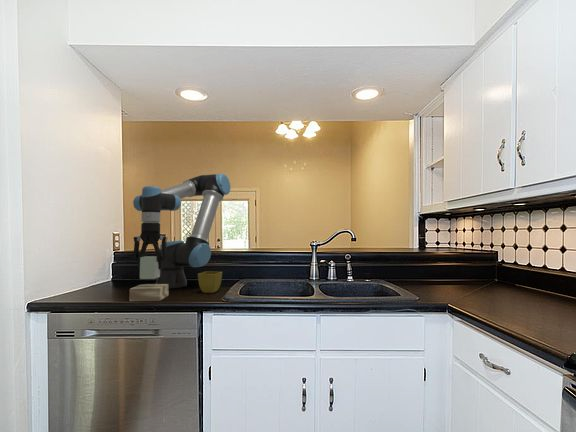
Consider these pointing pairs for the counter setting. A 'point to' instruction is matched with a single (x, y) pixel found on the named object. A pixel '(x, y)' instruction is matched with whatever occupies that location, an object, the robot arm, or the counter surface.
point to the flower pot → (209, 281)
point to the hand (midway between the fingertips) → (149, 276)
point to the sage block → (148, 267)
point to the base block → (149, 292)
